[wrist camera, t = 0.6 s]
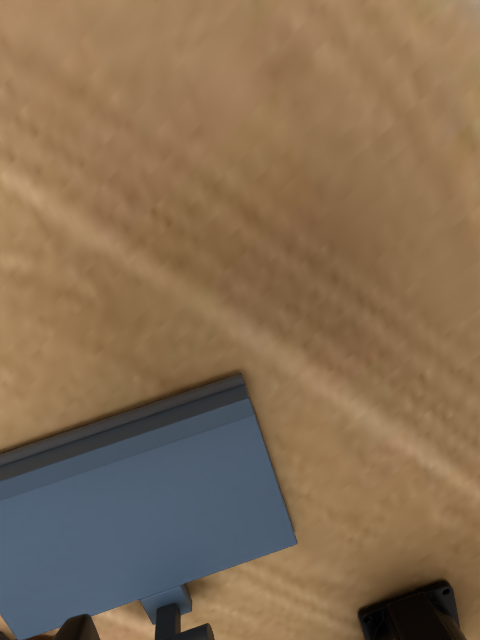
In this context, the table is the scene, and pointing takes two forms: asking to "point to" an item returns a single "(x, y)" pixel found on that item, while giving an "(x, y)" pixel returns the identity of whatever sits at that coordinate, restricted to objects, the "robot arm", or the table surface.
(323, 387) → the table surface
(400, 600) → the robot arm
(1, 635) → the electronic device
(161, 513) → the board
